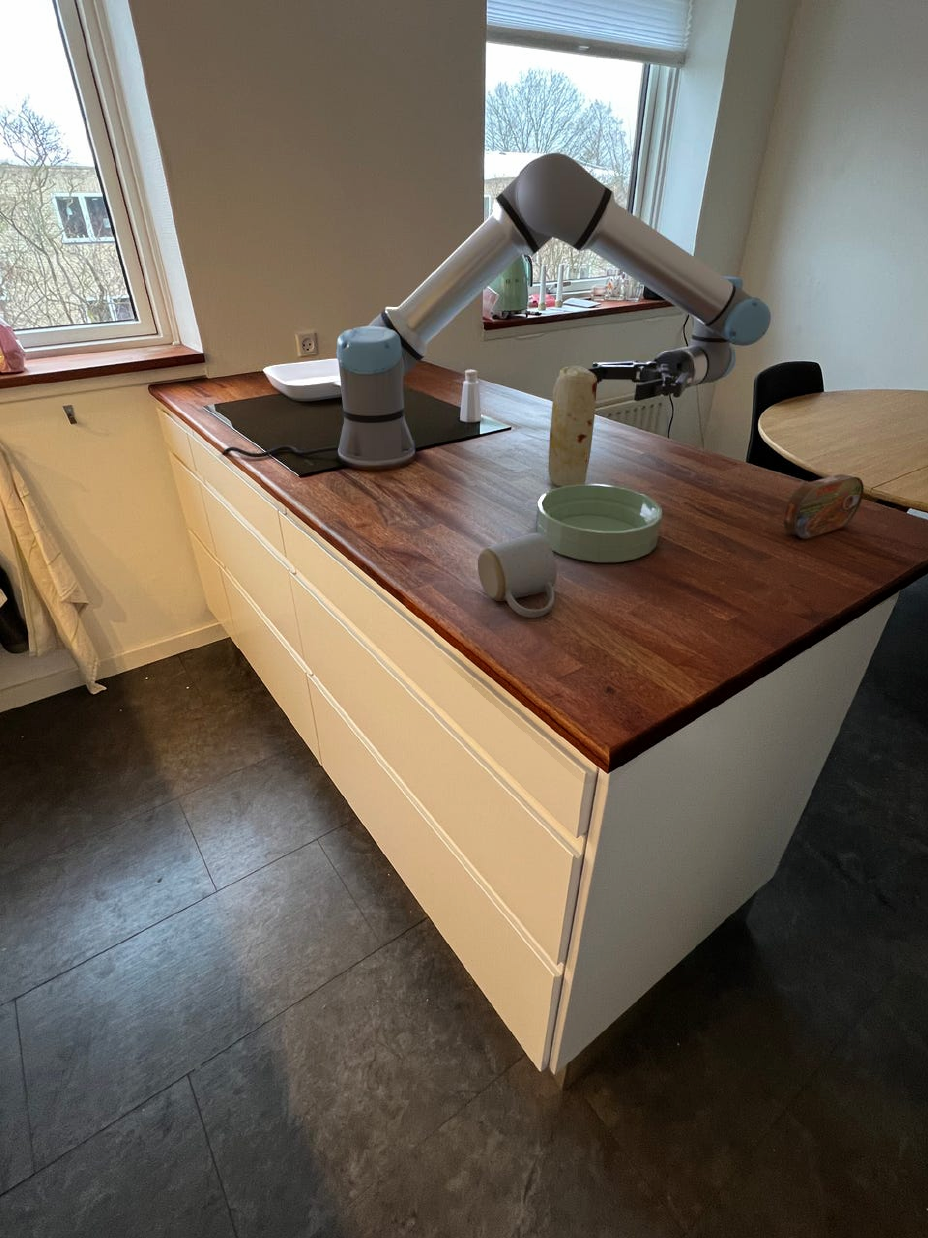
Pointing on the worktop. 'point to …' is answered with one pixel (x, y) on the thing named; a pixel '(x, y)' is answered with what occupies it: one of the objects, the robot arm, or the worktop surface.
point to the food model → (572, 425)
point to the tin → (823, 505)
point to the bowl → (598, 522)
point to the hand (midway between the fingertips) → (606, 385)
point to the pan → (307, 379)
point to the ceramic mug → (519, 571)
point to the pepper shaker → (470, 398)
